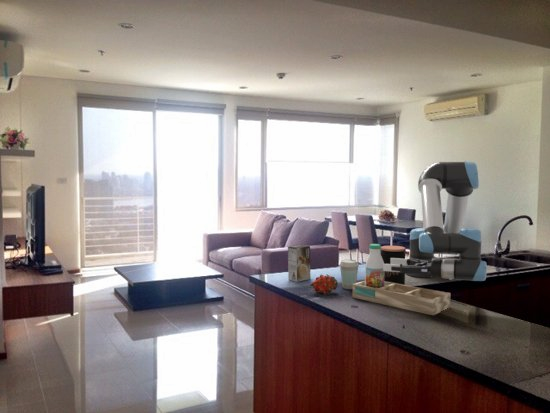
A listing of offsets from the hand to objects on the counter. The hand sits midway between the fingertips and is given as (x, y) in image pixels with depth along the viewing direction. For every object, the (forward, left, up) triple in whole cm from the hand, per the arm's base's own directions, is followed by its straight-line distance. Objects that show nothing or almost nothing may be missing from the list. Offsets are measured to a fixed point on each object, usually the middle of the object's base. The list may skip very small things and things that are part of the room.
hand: (386, 264), depth 192 cm
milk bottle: (+2, -5, -12) cm, 13 cm away
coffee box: (-1, -49, -14) cm, 51 cm away
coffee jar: (-17, -8, -14) cm, 24 cm away
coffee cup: (-4, -22, -14) cm, 27 cm away
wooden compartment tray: (+2, +7, -14) cm, 16 cm away
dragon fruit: (+10, -24, -14) cm, 30 cm away
